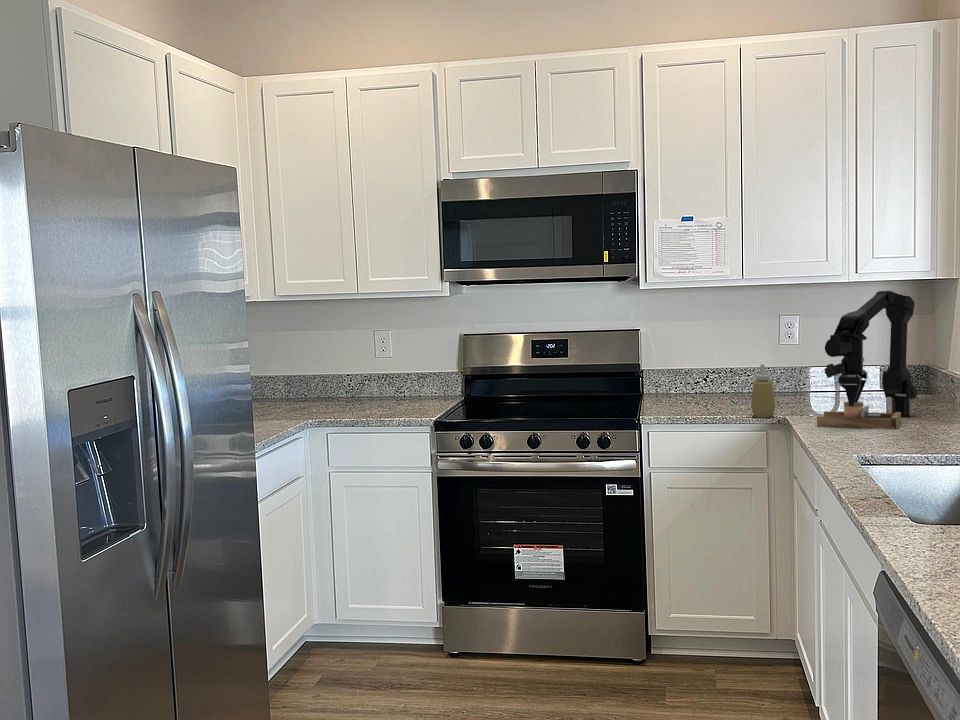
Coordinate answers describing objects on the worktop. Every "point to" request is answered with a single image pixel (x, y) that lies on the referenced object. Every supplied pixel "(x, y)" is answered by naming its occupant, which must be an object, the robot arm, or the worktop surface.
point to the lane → (859, 420)
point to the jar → (853, 409)
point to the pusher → (866, 413)
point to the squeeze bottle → (763, 395)
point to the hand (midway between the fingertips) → (853, 404)
